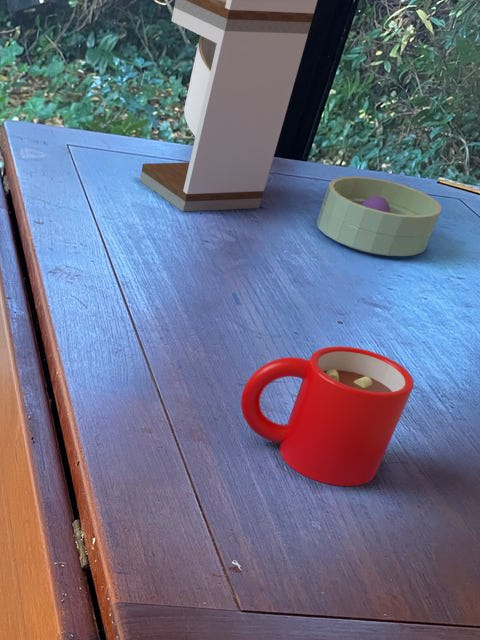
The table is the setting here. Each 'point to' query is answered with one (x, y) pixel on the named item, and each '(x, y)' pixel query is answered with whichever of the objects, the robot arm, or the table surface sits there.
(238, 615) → the table surface
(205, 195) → the brown-rimmed upright block
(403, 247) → the bowl
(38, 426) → the table surface
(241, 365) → the table surface
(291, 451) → the mug
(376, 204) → the ball
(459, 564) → the table surface
